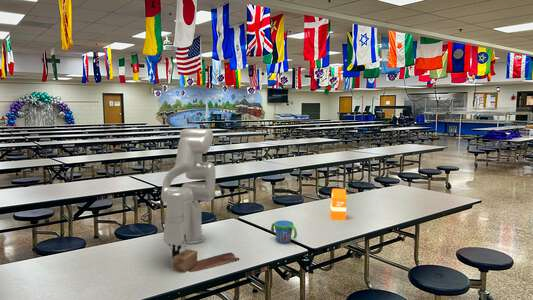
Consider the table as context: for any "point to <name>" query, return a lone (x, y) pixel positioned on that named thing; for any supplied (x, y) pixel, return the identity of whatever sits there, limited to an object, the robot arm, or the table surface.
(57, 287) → the table surface
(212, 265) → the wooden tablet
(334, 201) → the orange juice
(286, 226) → the snack cup
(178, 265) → the walnut block
